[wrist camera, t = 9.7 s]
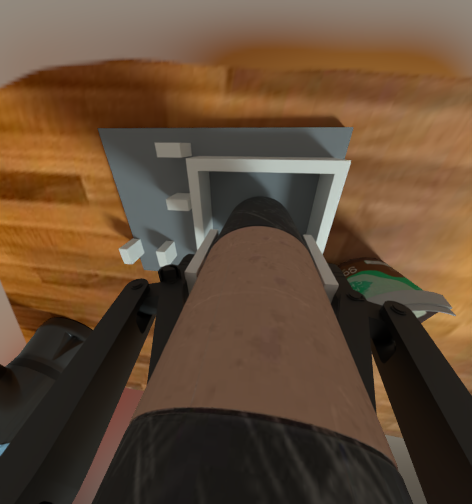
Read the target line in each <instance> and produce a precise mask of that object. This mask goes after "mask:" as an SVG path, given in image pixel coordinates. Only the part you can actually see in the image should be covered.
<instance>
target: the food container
mask: <svg viewBox="0 0 472 504" xmlns="http://www.w3.org/2000/svg"><path fill="white" fill-rule="evenodd" d="M338 267H339V268H340V269H341V271H342V272H343V274H344V275H345V278H346V279H347V280H348V282H349V283H350V285H351V287H352V288H353V290H355V291H358V292H360V293H361V294H363V295H364V296H365V297H366V300H367V301H369V302H372V303H376V304H379V305H383V304H384V302H385V301H388V300H389V301H396V302H399V303H401V304H403V305H405V306H406V307H408V308H409V309H410V310H411V311H412V312H413V313H414V314H415V316H416V317H417V319H418V320H419V321H420V323H422V322H423V321H425V320H427V319H428V318H430V317H431V316H433V315H434V314H436V313H438V312H442V313H447V314H450V315H453V316H456V315H455V314H454V313H453V312H452V311H451V310H450V309H452V307H451V306H450V304H449V303H448V302H447V300H446V299H445V298H444V297H443V295H440V294H437V293H434V292H428V291H423V290H422V289H421V288H419V287H418V286H416V285H415V284H414V283H412V282H411V281H410V280H408V279H407V278H405V277H404V276H403V275H401V274H400V273H399V272H397V271H396V270H394V269H393V268H392V267H390V266H389V265H388V264H386V263H385V262H383V261H381V260H378V259H375V258H359V259H353V260H350V261H347V262H345V263H342V264H340V265H339V266H338ZM371 354H372V352H371Z"/></svg>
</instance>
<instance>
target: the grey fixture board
mask: <svg viewBox="0 0 472 504" xmlns="http://www.w3.org/2000/svg"><path fill="white" fill-rule="evenodd" d="M98 131H99V134H100V137H101V140H102V143H103V147H104V150H105V153H106V156H107V159H108V162H109V165H110V168H111V171H112V174H113V177H114V180H115V183H116V186H117V189H118V192H119V195H120V198H121V201H122V204H123V207H124V210H125V213H126V216H127V219H128V222H129V225H130V228H131V231H132V234H133V238H134V239H140V240H141V243H142V246H143V250H144V254H143V255H142V256H141V257H140V259H141V262H142V265H143V268H144V270H152V271H159V269H160V268H161V267H160V265H159V262H158V258H157V254H156V251H157V250H158V249H159V248H160V247H161V246H162V245H163V244H164V243H165V242H166V241H174V242H175V247H176V252H177V256H176V258H175V259H174V260H173V261H172V263H171V264H175V265H179V263H180V262H181V260H182V259H183V257H184V256H186V255H187V254H196V252H197V244H196V236H195V229H194V221H193V213H192V209H190V210H189V211H176V210H168V208H167V203H166V199H167V198H169V197H171V196H172V195H174V194H176V193H190V189H189V181H188V173H187V165H186V158H191V157H196V156H243V157H322V158H339V159H345V155H346V152H347V148H348V145H349V141H350V138H351V134H352V131H353V127H297V128H98ZM155 143H191V152H192V156H188V157H182V158H174V157H157V153H156V148H155ZM319 177H320V174H319V173H272V172H226V171H209V178H210V192H211V207H212V222H213V229H215V230H218V233H219V234H220V232H221V230H222V228H223V227H224V225H225V223H226V221H227V219H228V218H229V216H230V214H231V213H232V211H233V210H234V208H235V207H236V206H237V205H238V204H240V203H241V202H242V201H244V200H246V199H248V198H251V197H257V196H264V197H269V198H272V199H275V200H277V201H278V202H280V203H281V204H282V205H283V206H284V207H285V208H286V209H287V211H288V212H289V214H290V216H291V218H292V220H293V222H294V224H295V226H296V228H297V230H298V232H299V234H300V236H301V238H302V236H303V235H306V233H307V228H308V224H309V220H310V215H311V211H312V207H313V202H314V198H315V194H316V190H317V185H318V181H319Z"/></svg>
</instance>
